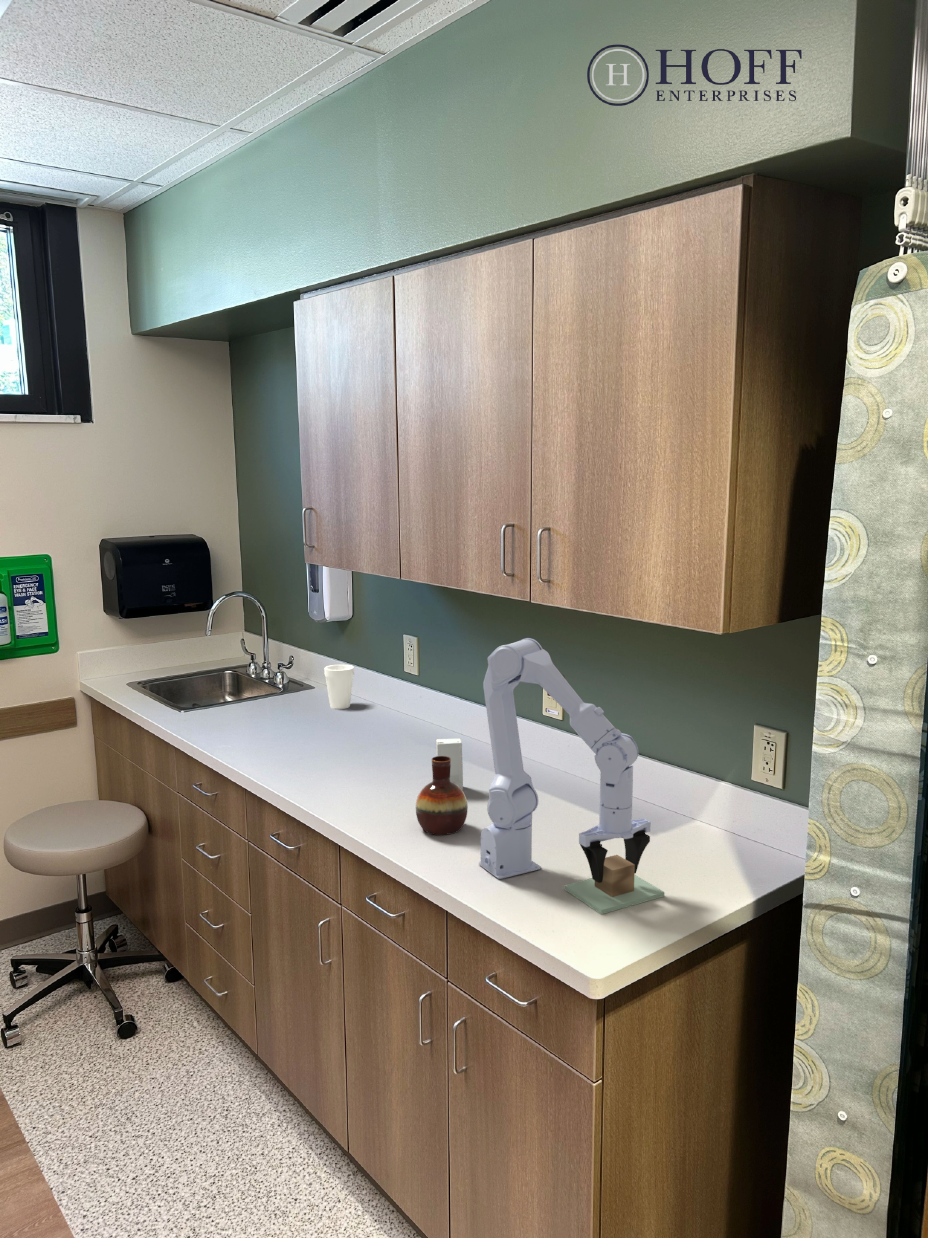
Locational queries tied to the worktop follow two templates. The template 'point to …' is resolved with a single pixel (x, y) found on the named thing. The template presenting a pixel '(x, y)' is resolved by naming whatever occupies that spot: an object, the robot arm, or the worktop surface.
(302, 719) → the worktop surface
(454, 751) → the skincare box
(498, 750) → the robot arm
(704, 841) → the worktop surface
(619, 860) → the walnut block
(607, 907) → the sage board
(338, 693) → the foam cup
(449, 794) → the vase
